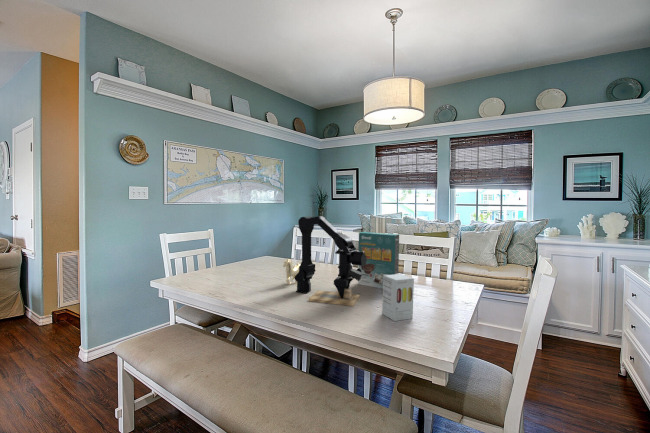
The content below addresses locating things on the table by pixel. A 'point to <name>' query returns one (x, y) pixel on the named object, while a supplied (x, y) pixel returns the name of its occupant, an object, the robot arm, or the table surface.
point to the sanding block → (346, 294)
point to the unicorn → (291, 270)
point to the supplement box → (398, 297)
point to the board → (333, 298)
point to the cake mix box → (378, 257)
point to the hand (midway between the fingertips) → (344, 295)
